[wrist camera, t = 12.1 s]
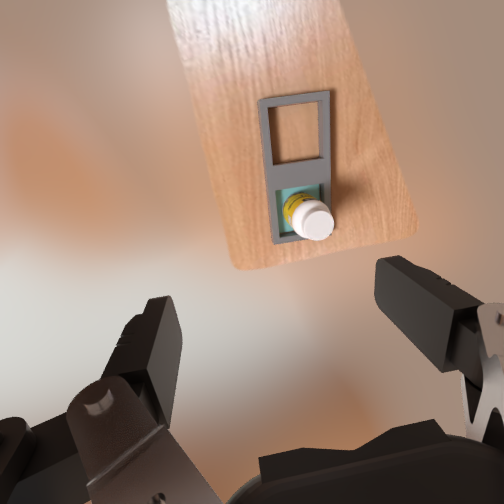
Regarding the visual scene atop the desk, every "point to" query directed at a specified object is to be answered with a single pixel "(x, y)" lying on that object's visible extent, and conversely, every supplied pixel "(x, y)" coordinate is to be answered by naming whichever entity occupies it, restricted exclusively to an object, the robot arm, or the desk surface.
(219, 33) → the desk surface
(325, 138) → the frame
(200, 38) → the desk surface
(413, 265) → the robot arm
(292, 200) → the supplement bottle
